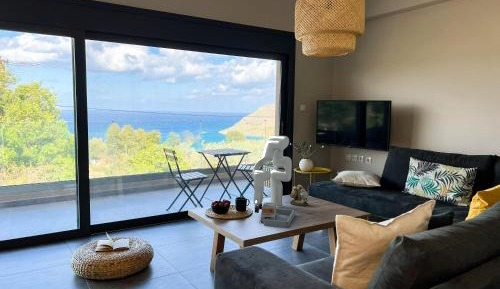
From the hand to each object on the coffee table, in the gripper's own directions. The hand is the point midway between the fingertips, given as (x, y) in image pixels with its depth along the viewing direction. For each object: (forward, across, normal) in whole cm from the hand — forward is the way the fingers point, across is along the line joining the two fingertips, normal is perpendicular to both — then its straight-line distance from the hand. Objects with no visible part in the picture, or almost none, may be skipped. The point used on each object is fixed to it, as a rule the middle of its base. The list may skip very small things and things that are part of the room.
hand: (258, 211), depth 277 cm
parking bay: (+5, 0, +17) cm, 17 cm away
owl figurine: (+6, -49, +23) cm, 55 cm away
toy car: (+6, 0, +8) cm, 9 cm away
